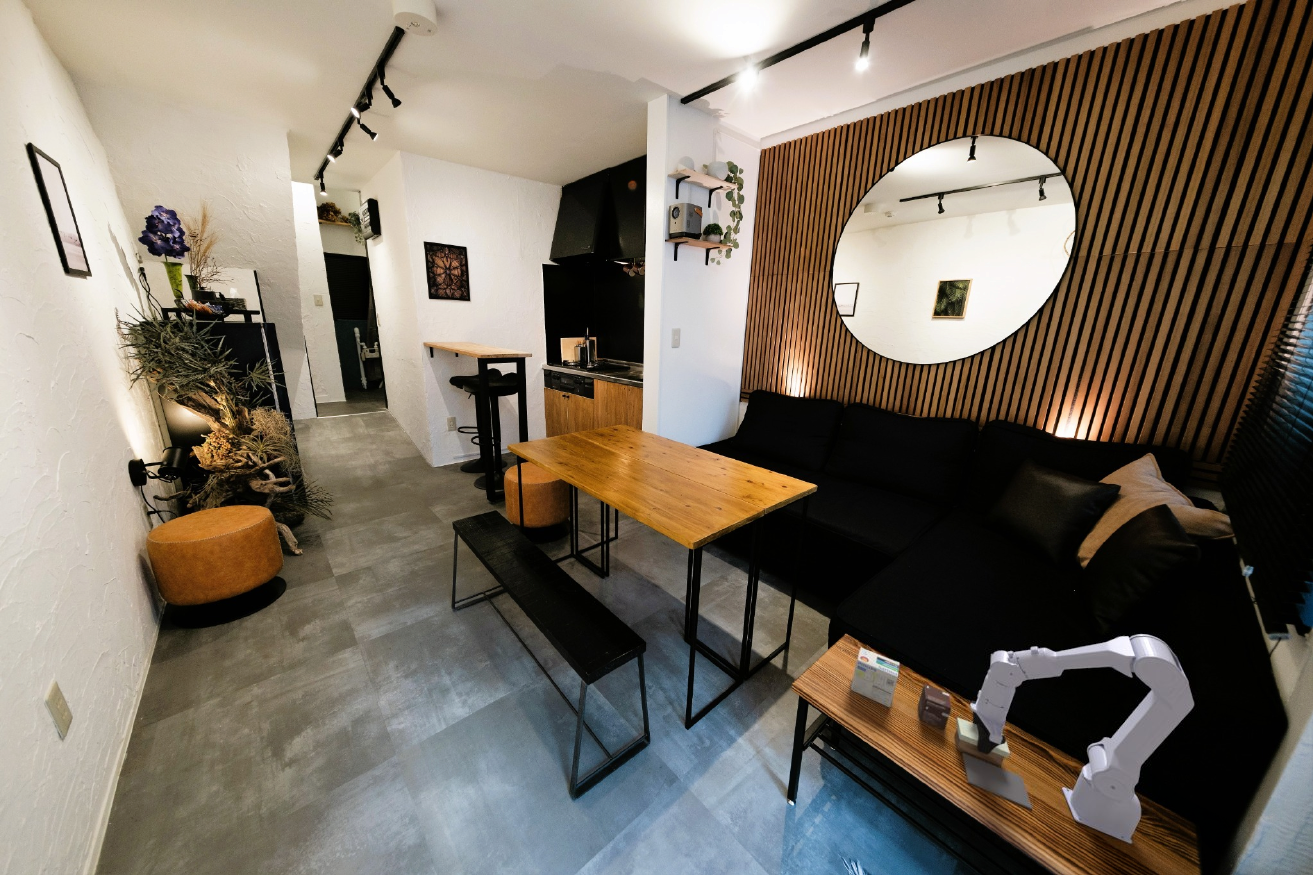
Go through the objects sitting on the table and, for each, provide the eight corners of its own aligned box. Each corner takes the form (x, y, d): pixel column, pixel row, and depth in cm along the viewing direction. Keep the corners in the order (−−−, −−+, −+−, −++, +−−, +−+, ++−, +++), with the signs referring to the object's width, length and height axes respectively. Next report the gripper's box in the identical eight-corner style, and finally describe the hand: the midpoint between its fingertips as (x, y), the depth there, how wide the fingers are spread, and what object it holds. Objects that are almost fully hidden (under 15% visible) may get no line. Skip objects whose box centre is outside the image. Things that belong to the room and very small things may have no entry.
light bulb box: (892, 692, 127) (900, 662, 124) (890, 708, 121) (899, 677, 118) (853, 675, 132) (860, 645, 129) (849, 690, 127) (856, 659, 124)
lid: (1002, 739, 110) (1004, 734, 109) (1008, 757, 105) (1010, 753, 105) (955, 721, 114) (957, 717, 114) (959, 738, 109) (960, 734, 109)
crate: (996, 752, 111) (1000, 740, 110) (1000, 767, 107) (1005, 755, 106) (954, 736, 114) (958, 724, 113) (957, 750, 110) (961, 738, 109)
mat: (1021, 777, 105) (1021, 776, 105) (1031, 809, 98) (1032, 808, 98) (962, 754, 110) (962, 752, 109) (968, 782, 103) (968, 781, 102)
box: (918, 720, 118) (925, 698, 116) (917, 703, 124) (923, 682, 122) (944, 730, 116) (952, 708, 114) (942, 713, 121) (949, 692, 119)
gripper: (970, 671, 114) (956, 712, 118) (981, 713, 101) (966, 758, 105) (1002, 682, 111) (988, 724, 115) (1019, 727, 99) (1002, 772, 102)
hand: (980, 741), depth 110 cm, fingers closed on lid, 5 cm apart
